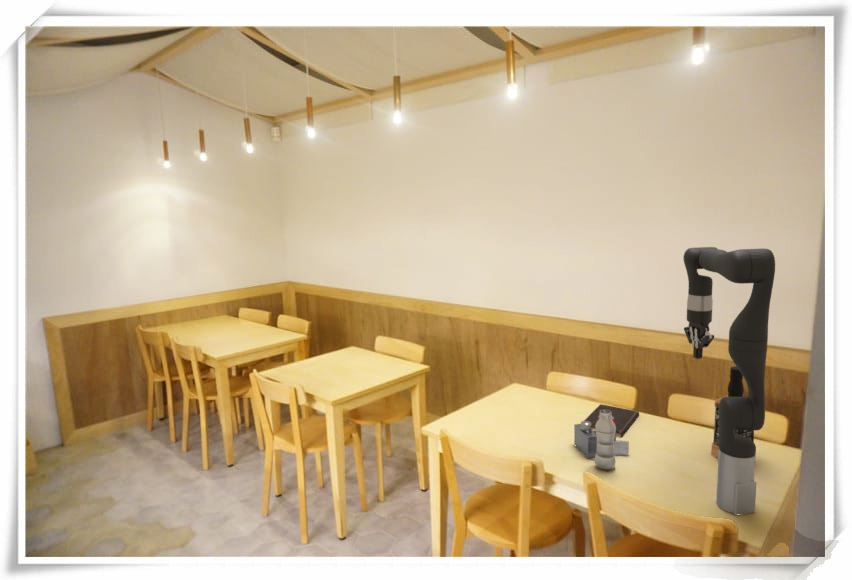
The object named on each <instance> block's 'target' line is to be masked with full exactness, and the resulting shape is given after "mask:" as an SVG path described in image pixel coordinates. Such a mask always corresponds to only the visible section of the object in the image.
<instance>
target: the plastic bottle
mask: <svg viewBox="0 0 852 580" xmlns="http://www.w3.org/2000/svg"><path fill="white" fill-rule="evenodd" d="M599 417H600V419H599V420H598V421H597V423H596V425H595V429H596V435H597V449H596V455H595V458H594V463H595V465H596V468H599V469H601V470H604V471H609V470H613V469H614V467H615V466H616V457H615V456H616V455H614V437H615V432H616V426H615V424H614V422H613V421H612V420H611V418H612V416H611V411H609V410H600V415H599Z"/></svg>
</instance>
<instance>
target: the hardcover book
mask: <svg viewBox="0 0 852 580" xmlns="http://www.w3.org/2000/svg"><path fill="white" fill-rule="evenodd" d="M600 410H609V411H611V415H612V416H613V417H614V419H615V421H616V437H619V438H623V437H624V436H625V434H626V433H627V432H628V430H629V429H630V428H631V427H632V426H633V424H634V423H635V422H636V420H637V419H638V418H639V416H640V412H639V411H638V410H633V409H629V408H622V407H617V406H612V405H607V404H601V403H600V404H599V405H598V406H597V407H596V408H595V409H594V410H593V411H592V412H591V413H590V414H589V415H588V416H587V417H586V418H585V419H584V420H583V421H590V422H591V423H592V430H596V429H595V425H596V420H597V418H598V416H599V415H600Z"/></svg>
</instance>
